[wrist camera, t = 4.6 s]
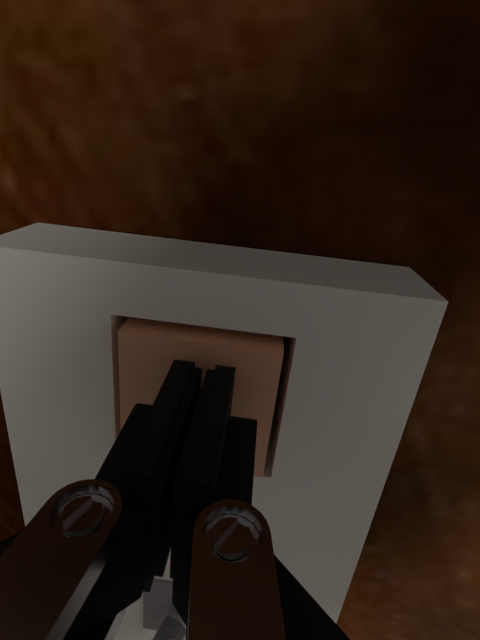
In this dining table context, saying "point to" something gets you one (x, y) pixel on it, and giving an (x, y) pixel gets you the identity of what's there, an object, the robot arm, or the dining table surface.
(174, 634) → the toggle lever
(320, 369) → the control panel
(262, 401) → the push button
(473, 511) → the dining table surface
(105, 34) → the dining table surface
